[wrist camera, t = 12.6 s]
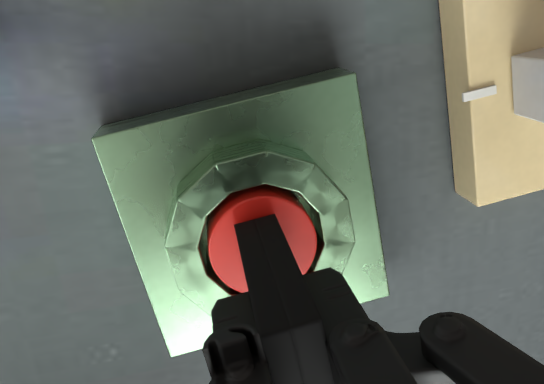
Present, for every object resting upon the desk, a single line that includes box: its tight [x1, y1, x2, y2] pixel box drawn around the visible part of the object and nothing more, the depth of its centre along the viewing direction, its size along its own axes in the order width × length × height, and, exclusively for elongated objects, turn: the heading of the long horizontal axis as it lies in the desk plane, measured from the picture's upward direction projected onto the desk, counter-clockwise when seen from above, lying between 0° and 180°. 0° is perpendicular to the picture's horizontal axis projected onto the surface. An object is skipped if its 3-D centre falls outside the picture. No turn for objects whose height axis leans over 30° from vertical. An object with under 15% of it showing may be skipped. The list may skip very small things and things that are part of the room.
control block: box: [91, 67, 389, 357], centre depth 20 cm, size 10×10×4 cm
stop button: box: [207, 184, 317, 293], centre depth 19 cm, size 4×4×2 cm
